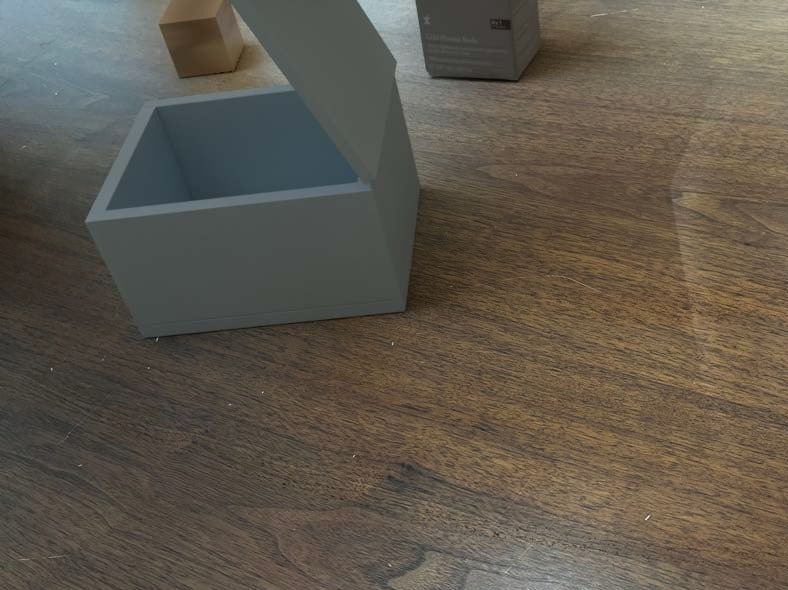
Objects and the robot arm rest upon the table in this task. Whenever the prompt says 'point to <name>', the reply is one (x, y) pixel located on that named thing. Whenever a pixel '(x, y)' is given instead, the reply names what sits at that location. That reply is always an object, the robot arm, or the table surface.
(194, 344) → the table surface
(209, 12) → the block
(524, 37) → the cosmetic box
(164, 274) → the compartment
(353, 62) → the lid
